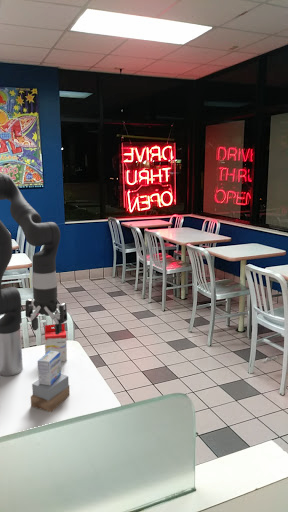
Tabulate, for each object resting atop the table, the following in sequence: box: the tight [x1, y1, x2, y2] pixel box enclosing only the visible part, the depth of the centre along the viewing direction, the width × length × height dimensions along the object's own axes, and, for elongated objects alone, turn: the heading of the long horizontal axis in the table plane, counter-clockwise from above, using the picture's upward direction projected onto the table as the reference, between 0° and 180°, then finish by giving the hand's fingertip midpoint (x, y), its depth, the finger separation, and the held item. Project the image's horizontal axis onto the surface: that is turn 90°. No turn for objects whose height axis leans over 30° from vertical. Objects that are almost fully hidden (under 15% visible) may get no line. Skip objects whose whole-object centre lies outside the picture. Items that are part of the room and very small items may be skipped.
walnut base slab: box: [30, 386, 70, 413], centre depth 135 cm, size 8×11×4 cm
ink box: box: [44, 323, 68, 362], centre depth 162 cm, size 8×5×15 cm, turn 106°
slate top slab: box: [31, 373, 70, 401], centre depth 134 cm, size 7×10×4 cm
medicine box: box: [37, 351, 62, 386], centre depth 133 cm, size 8×4×9 cm, turn 165°
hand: (46, 331), depth 130 cm, fingers open, 8 cm apart
